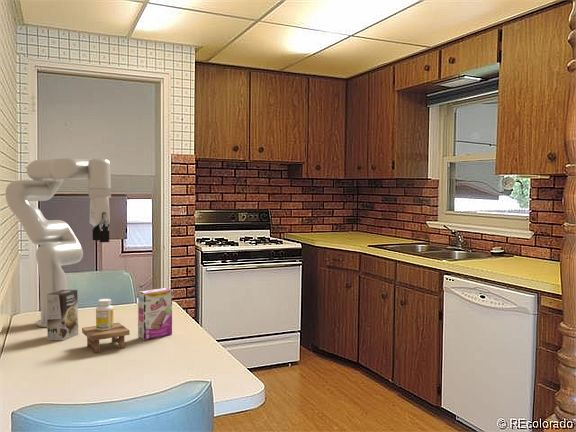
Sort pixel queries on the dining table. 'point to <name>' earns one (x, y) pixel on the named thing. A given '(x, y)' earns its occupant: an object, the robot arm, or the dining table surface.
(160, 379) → the dining table surface
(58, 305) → the coffee box
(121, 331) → the stool
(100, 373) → the dining table surface
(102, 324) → the supplement bottle
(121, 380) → the dining table surface
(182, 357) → the dining table surface
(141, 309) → the candy bar box
